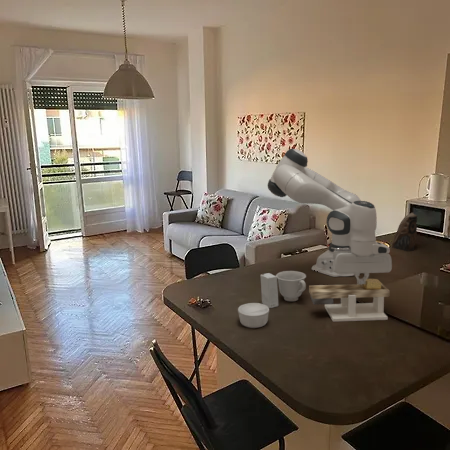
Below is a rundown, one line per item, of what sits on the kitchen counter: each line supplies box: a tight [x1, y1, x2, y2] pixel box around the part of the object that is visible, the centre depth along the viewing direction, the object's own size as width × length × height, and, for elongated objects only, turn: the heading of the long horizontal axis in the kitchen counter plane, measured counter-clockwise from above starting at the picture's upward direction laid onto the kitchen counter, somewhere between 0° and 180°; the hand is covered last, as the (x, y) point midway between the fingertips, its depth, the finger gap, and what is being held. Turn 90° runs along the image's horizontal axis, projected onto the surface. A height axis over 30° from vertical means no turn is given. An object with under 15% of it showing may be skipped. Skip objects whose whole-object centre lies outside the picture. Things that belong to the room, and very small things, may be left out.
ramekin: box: [237, 302, 270, 329], centre depth 145 cm, size 11×11×5 cm
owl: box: [391, 212, 418, 252], centre depth 231 cm, size 13×13×20 cm
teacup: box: [275, 270, 307, 302], centre depth 164 cm, size 12×15×10 cm
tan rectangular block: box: [363, 278, 383, 290], centre depth 148 cm, size 5×4×4 cm
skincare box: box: [259, 272, 279, 309], centre depth 160 cm, size 6×4×12 cm
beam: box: [308, 283, 390, 305], centre depth 148 cm, size 27×8×5 cm, turn 89°
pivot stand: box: [324, 295, 389, 322], centre depth 149 cm, size 19×13×9 cm
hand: (361, 284), depth 148 cm, fingers closed
